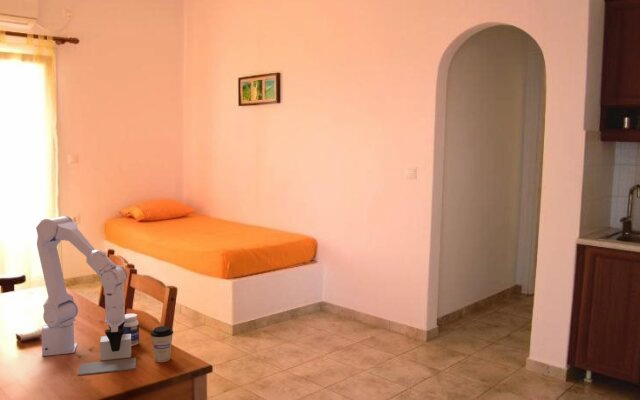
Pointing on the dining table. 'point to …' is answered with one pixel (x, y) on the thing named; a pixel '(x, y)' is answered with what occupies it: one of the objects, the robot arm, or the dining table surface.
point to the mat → (107, 366)
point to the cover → (122, 353)
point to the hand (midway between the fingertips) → (116, 346)
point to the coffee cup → (162, 343)
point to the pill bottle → (132, 328)
